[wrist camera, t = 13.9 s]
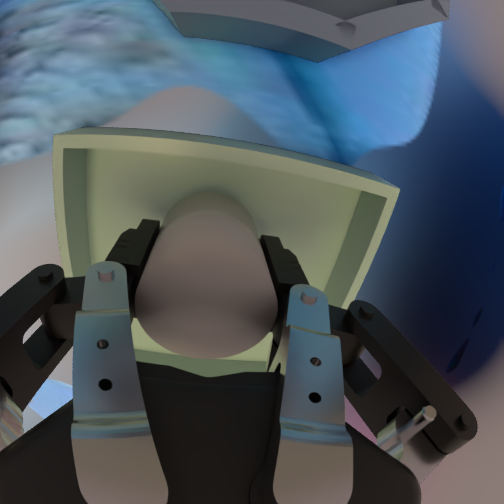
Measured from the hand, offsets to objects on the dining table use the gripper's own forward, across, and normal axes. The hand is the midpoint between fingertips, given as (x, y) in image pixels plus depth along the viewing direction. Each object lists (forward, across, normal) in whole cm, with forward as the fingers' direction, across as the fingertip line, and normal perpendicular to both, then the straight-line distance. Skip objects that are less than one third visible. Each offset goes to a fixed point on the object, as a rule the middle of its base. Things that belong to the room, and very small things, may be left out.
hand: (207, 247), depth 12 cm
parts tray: (+3, 0, +4) cm, 5 cm away
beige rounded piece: (+1, 0, 0) cm, 1 cm away
